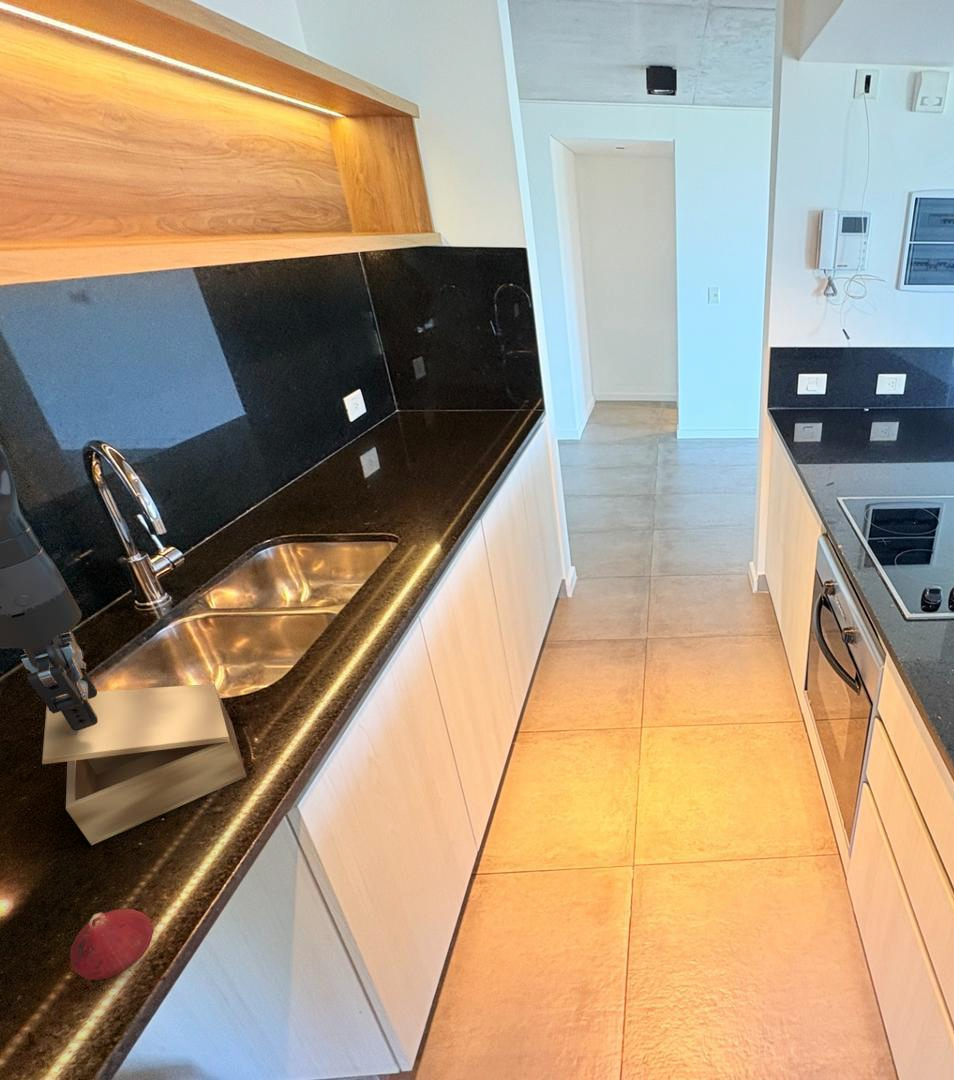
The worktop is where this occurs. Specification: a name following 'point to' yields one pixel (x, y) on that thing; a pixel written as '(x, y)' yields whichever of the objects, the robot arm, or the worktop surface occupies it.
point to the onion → (110, 943)
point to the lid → (138, 723)
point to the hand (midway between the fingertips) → (86, 711)
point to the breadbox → (147, 783)
